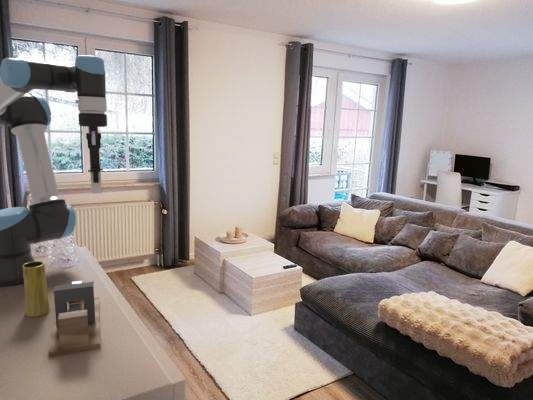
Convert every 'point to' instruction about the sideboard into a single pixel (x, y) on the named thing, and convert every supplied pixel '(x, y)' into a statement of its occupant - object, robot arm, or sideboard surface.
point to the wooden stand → (75, 332)
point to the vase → (35, 289)
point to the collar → (74, 298)
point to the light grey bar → (75, 302)
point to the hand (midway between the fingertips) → (96, 192)
